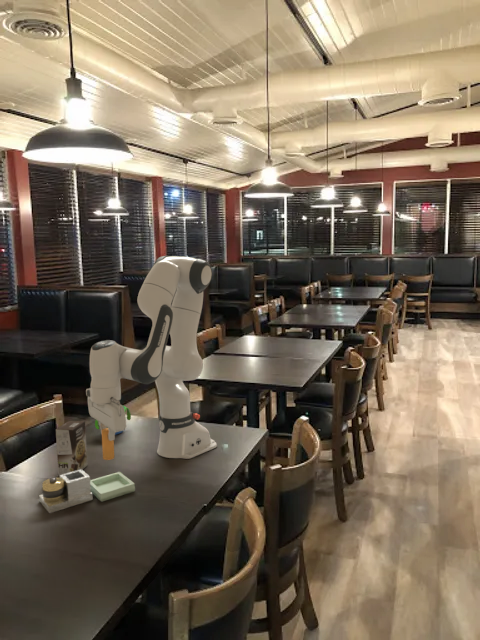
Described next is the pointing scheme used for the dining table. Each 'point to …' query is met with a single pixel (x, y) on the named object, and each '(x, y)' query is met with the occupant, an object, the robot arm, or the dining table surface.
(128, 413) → the snack cup
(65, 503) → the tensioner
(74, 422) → the coffee box
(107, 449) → the pin
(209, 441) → the robot arm
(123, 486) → the tray
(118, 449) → the dining table surface
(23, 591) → the dining table surface
